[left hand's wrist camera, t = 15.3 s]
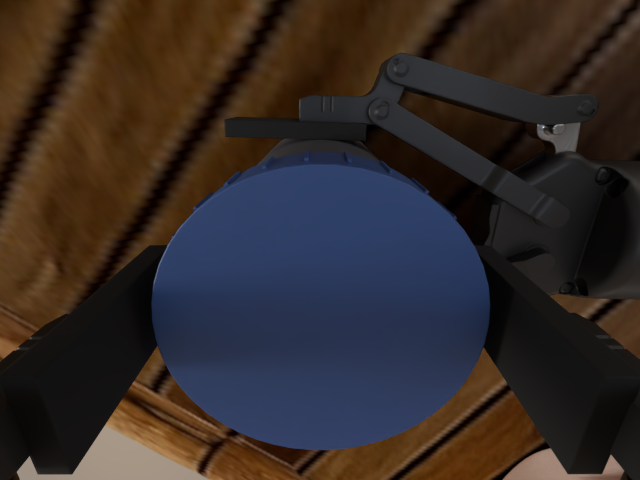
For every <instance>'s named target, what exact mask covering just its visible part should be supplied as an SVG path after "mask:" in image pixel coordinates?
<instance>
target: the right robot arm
mask: <svg viewBox="0 0 640 480" xmlns="http://www.w3.org/2000/svg"><path fill="white" fill-rule="evenodd" d="M403 90H405V91H409V92H412V93H415V94H419V95H422V96H426V97H429V98H432V99H436V100H439V101H442V102H446V103H449V104H452V105H456V106H459V107H463V108H466V109H469V110H473V111H476V112H479V113H483V114H486V115H489V116H493V117H496V118H500V119H503V120H508V121H514V122H522V123H526V129H527V132H528V134H529V136H530V137H532V138H535V139H540V140H541V141H542V142H543V143H544V145H545V150H544V151H542V152H540V153H539V154H537V155H535V156H534V157H532V158H530V159H529V160H527V161H525V162H524V163H522V164H520V165H519V166H517V167H515V168H514V169H512V170H510V171H507V170H505V169H503V168H501V167H499V166H498V165H496V164H494V163H492V162H491V161H489V160H488V159H486V158H484V157H483V156H481V155H479V154H478V153H476V152H474V151H473V150H471V149H470V148H468V147H466V146H465V145H463V144H461V143H460V142H458V141H457V140H455V139H453V138H452V137H450V136H448V135H447V134H445V133H444V132H442V131H440V130H439V129H437V128H435V127H434V126H432V125H431V124H429V123H427V122H426V121H424V120H422V119H421V118H419V117H417V116H416V115H414V114H413V113H411V112H409V111H408V110H406V109H404V108H403V107H401V106H400V105H398V102H399V99H400V97H401V95H402V93H403ZM598 107H599V102H598V100H597V98H596V97H595V96H594V95H590V94H572V95H548V96H542V95H539V94H536V93H533V92H529V91H526V90H523V89H520V88H516V87H513V86H510V85H507V84H503V83H500V82H497V81H494V80H491V79H487V78H484V77H481V76H478V75H474V74H471V73H468V72H465V71H461V70H458V69H455V68H452V67H448V66H445V65H442V64H439V63H435V62H432V61H429V60H426V59H422V58H419V57H416V56H413V55H409V54H406V53H399V54H396V55H394V56H392V57H391V58H389V59H387V60H386V61H385V62H383V63H382V64H381V66H380V68H379V74H378V76H377V78H376V81H375V83H374V86H373V88H372V89H371V91H370V92H369V93H367V94H366V95H364V96H361V97H355V96H323V95H309V96H307V97H304V98H302V99H299V119H286V118H254V117H235V118H230V119H225V120H224V122H225V137H248V138H281V139H315V140H348V141H366V128H367V124H375V125H376V126H378V127H380V128H381V129H383V130H385V131H386V132H388V133H390V134H391V135H393V136H395V137H397V138H398V139H400V140H402V141H403V142H405V143H407V144H408V145H410V146H412V147H413V148H415V149H417V150H418V151H420V152H422V153H423V154H425V155H427V156H429V157H430V158H432V159H434V160H435V161H437V162H439V163H440V164H442V165H444V166H445V167H447V168H449V169H450V170H452V171H454V172H455V173H457V174H459V175H461V176H462V177H464V178H465V179H467V180H469V181H470V182H472V183H474V184H475V185H477V186H479V187H480V188H482V189H483V191H482V192H481V194H480V195H476V197H475V202H474V207H473V208H474V223H473V225H472V227H471V229H470V231H469V233H468V237H469V238H470V240H471V242H472V243H473V245H490V246H492V247H493V248H494V249H495V250H496V251H497V252H499V253H500V254H501V255H502V256H503V257H504V258H506V259H507V260H508V261H509V262H510V263H511V264H513V265H514V266H515V267H516V268H517V269H518V270H520V271H521V272H522V273H523V274H524V275H525V276H527V277H528V278H529V279H530V280H531V281H532V282H534V283H535V284H536V285H537V286H538V287H539V288H541V289H542V290H543V291H544V292H545V293H546V294H548V295H549V296H550V295H554V294H565V295H571V296H576V297H583V298H604V299H640V161H620V160H588V159H586V158H585V157H583V156H582V155H581V154H579V153H577V152H576V147H577V142H578V136H579V130H580V125H581V122H585V121H588V120H590V119H591V118H593V116H594V115H595V114H596V113H597V110H598Z"/></svg>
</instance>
